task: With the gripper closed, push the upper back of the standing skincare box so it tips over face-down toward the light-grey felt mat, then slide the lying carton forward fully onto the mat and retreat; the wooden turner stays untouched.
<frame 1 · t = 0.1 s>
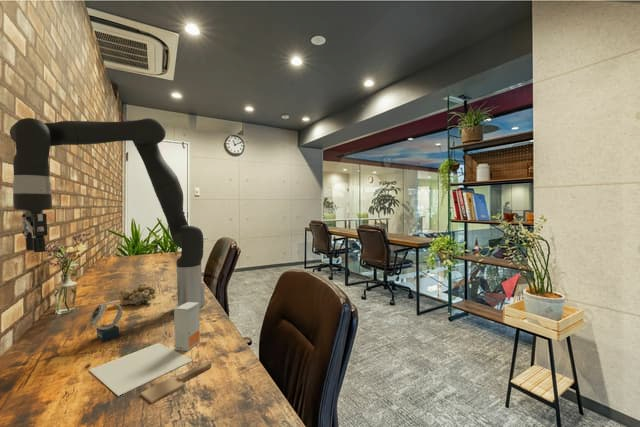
hand: (35, 251, 80), 29 cm above the table, fingers open, 8 cm apart
skincare box: (188, 346, 84), on the table
mineral formation: (139, 304, 124), on the table
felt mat: (141, 365, 74), on the table
watch: (107, 338, 91), on the table
wooden turner: (178, 382, 66), on the table
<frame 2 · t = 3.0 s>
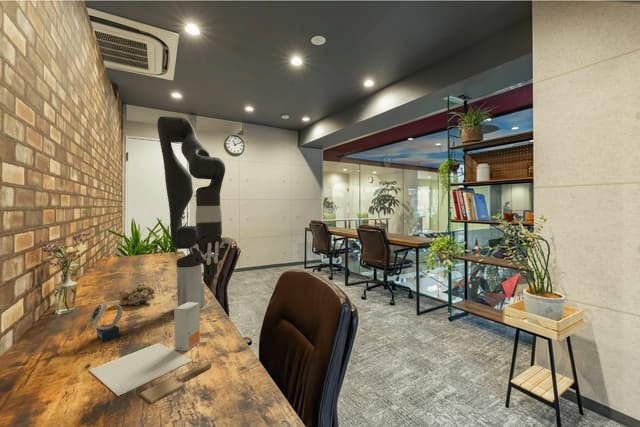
hand: (210, 275, 90), 19 cm above the table, fingers closed
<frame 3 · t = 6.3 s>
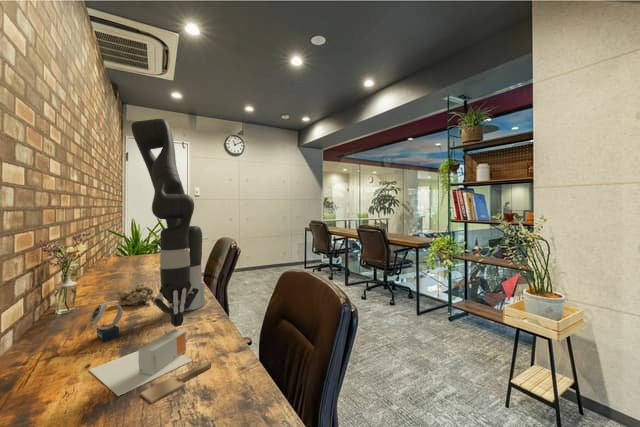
hand: (177, 325, 81), 7 cm above the table, fingers closed
skincare box: (181, 339, 81), point 3 cm above the table, touching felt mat
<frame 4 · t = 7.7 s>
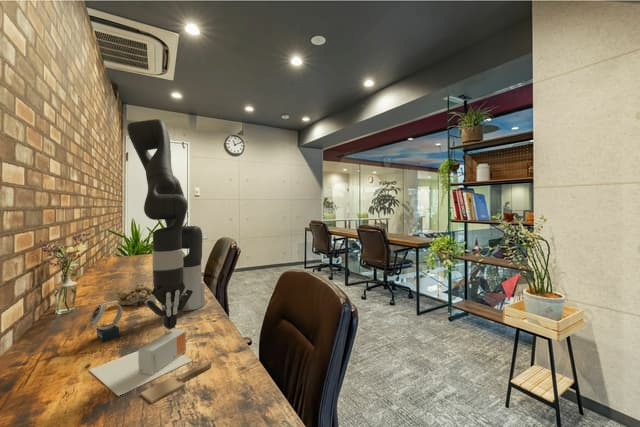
hand: (170, 328, 80), 7 cm above the table, fingers closed
nothing on the table moved.
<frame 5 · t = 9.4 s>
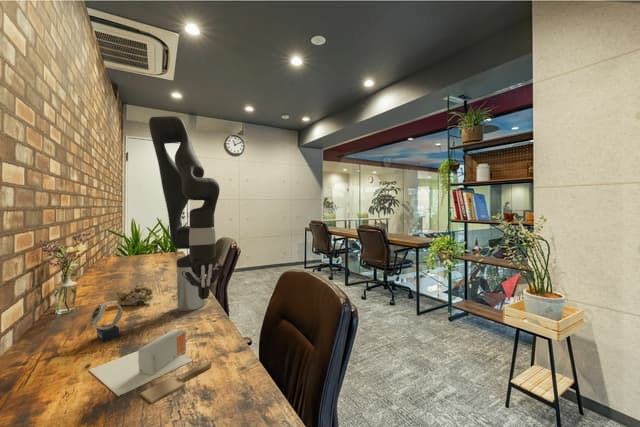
hand: (203, 298, 88), 12 cm above the table, fingers closed
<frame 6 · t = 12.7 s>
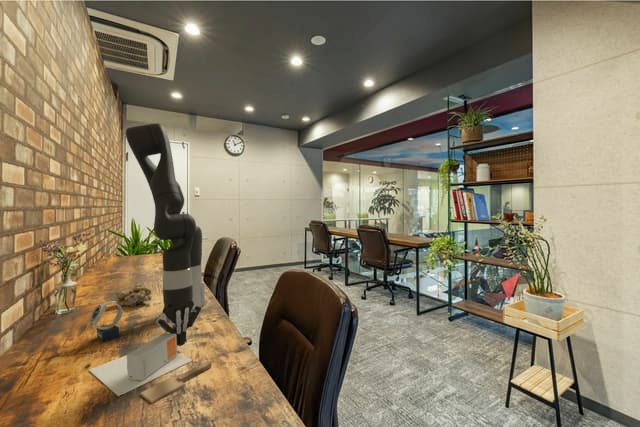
hand: (180, 344, 82), 1 cm above the table, fingers closed
skincare box: (171, 343, 79), point 3 cm above the table, touching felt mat, hand
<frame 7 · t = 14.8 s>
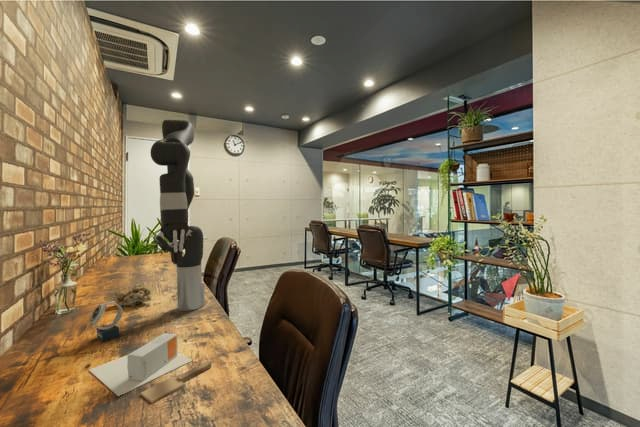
hand: (177, 263, 89), 23 cm above the table, fingers closed
skincare box: (171, 343, 79), point 3 cm above the table, touching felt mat
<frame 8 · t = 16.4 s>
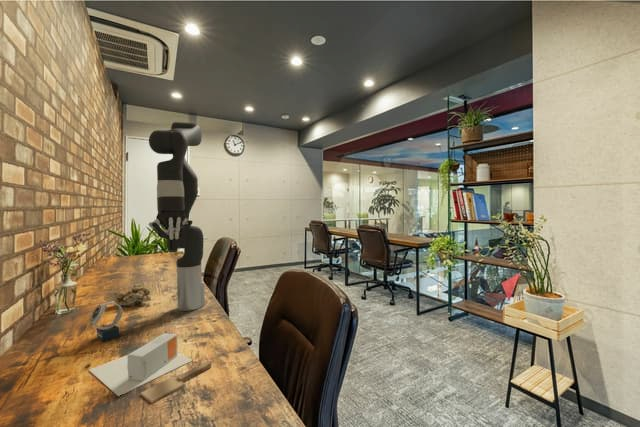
hand: (172, 251, 89), 27 cm above the table, fingers closed
at the end: skincare box tilted 91°; skincare box inside the target area (6.3 cm from its centre), point 3.3 cm above the table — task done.
